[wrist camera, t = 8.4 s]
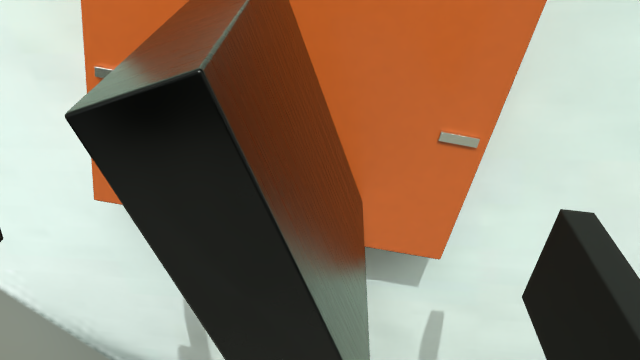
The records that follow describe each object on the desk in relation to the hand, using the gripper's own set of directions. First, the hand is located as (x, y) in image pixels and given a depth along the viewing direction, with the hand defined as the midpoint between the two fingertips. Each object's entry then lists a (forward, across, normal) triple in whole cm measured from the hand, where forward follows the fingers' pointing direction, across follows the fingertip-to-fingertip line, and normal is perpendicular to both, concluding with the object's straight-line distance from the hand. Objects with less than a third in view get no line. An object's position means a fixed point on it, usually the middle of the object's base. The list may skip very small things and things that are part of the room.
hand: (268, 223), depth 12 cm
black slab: (+6, 0, 0) cm, 6 cm away
